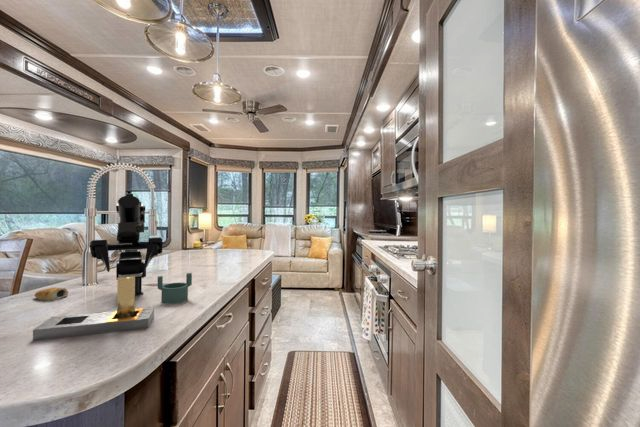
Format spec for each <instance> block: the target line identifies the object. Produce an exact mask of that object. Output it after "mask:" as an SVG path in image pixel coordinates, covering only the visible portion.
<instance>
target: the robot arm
mask: <svg viewBox="0 0 640 427" xmlns="http://www.w3.org/2000/svg"><path fill="white" fill-rule="evenodd" d="M115 206H116V207H115V211H116V213H117V214H118V217H119V222H118V223H117V232H116V241H117V242H115V243H111V242H110V243H108V239H93V240H91V241H90V243H89V250H90V254H91V257H92V258H93V259H97V260H101V262H102V263H103V265H104V266H105V269H106V272H107V273H110V270H111V265H110V255H109V252H110V251H121V252H120V253H119V259H118V262H116V268H115V270H116V271H115V273H116V274H115V275H116V279H117V278H118V277H121V276H129V275H132V276H135V296H140V295H143V294H144V292H143V291H142V290H143V289H142V284H143V283H142V280H143V278H146V277H147V268H148V266H149V264H150V263H151V261H152V260H153V259H154V257H156V256H158V255H159V254H162V253H163V245H164V244H163V243H164V242H163V238H162V237H148V242H140V236H141V235H140V234H141V233H145V222H146V221H145V220H146V205H144V203H142V201H141V200H140V199H139V198H138V197H136V196H134V193H125V195H124V196H121V197H120V198H119V199H117V204H116V205H115ZM141 250H146V253H145V258H144V261H143V256H142V252H141Z"/></svg>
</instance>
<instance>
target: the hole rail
mask: <svg viewBox="0 0 640 427" xmlns="http://www.w3.org/2000/svg"><path fill="white" fill-rule="evenodd" d="M154 318H155V307H151V308H144V307H142V308H135V317H130V318H119V319H117V310H115V311H105V312H94V313H83V314H82V313H81V314H73V315H72V314H70V315H59V316H51V317H50V318H48V319H47V320H45V321H44V322H43V323H42V322H41V324H39V325H38V326H36V327H35V328H34V329H32V341H40V340H42V341H43V340H49V339H50V340H51V339H60V338H68V337H69V338H70V337H77V336H85V335H87V336H88V335H96V334H97V335H98V334H107V333H115V332H123V331H133V330H142V329H149V327H150V325H151V323H152V322H153V319H154Z"/></svg>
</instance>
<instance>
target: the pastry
mask: <svg viewBox="0 0 640 427" xmlns="http://www.w3.org/2000/svg"><path fill="white" fill-rule="evenodd" d="M68 295H69V290H68V288H66V287H50V288H46V289H41V290H39V291H36V292H35V293H34V297H35V298H36V299H37V300H39V301H48V302H49V301H57V300H60V299H63V298H65V297H67V296H68Z"/></svg>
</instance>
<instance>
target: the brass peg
mask: <svg viewBox="0 0 640 427" xmlns="http://www.w3.org/2000/svg"><path fill="white" fill-rule="evenodd" d="M116 281H117V282H116V283H117V285H116V287H117V288H116V292H117V294H116V296H117V297H116V299H117V302H116V311H117V319H119V318H130V317H135V309H136V308H135V306H136V303H135V302H136V300H135V299H136V295H135V276H132V275H129V276H121V277H118V278H116Z"/></svg>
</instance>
